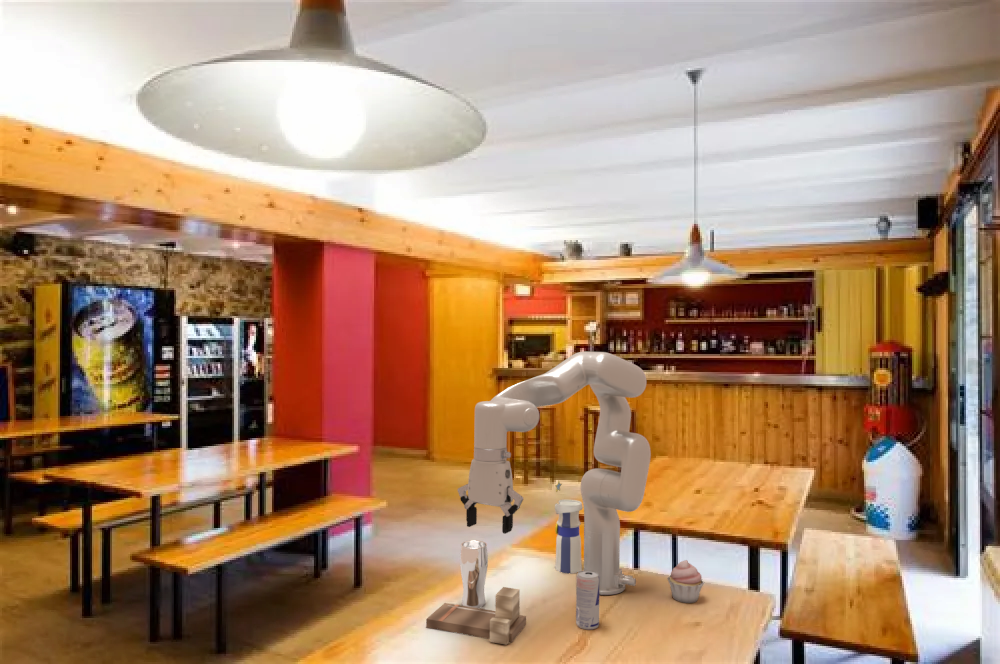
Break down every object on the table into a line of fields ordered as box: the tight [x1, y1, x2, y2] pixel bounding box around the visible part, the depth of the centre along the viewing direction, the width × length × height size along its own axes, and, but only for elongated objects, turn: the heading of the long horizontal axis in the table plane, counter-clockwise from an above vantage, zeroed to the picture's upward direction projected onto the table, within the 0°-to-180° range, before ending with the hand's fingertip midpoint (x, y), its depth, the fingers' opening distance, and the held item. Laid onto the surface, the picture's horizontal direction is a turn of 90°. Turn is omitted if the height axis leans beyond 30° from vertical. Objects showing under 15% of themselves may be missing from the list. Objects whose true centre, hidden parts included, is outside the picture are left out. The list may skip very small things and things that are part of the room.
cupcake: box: [667, 559, 705, 604], centre depth 174 cm, size 9×9×10 cm
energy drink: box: [575, 569, 600, 631], centre depth 158 cm, size 5×5×12 cm
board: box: [425, 602, 527, 643], centre depth 157 cm, size 21×10×2 cm, turn 69°
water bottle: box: [554, 480, 584, 575], centre depth 195 cm, size 8×9×25 cm
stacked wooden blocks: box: [489, 586, 521, 645], centre depth 153 cm, size 4×11×9 cm, turn 160°
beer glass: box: [459, 539, 489, 609], centre depth 170 cm, size 7×7×15 cm
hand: (489, 528), depth 156 cm, fingers open, 9 cm apart
